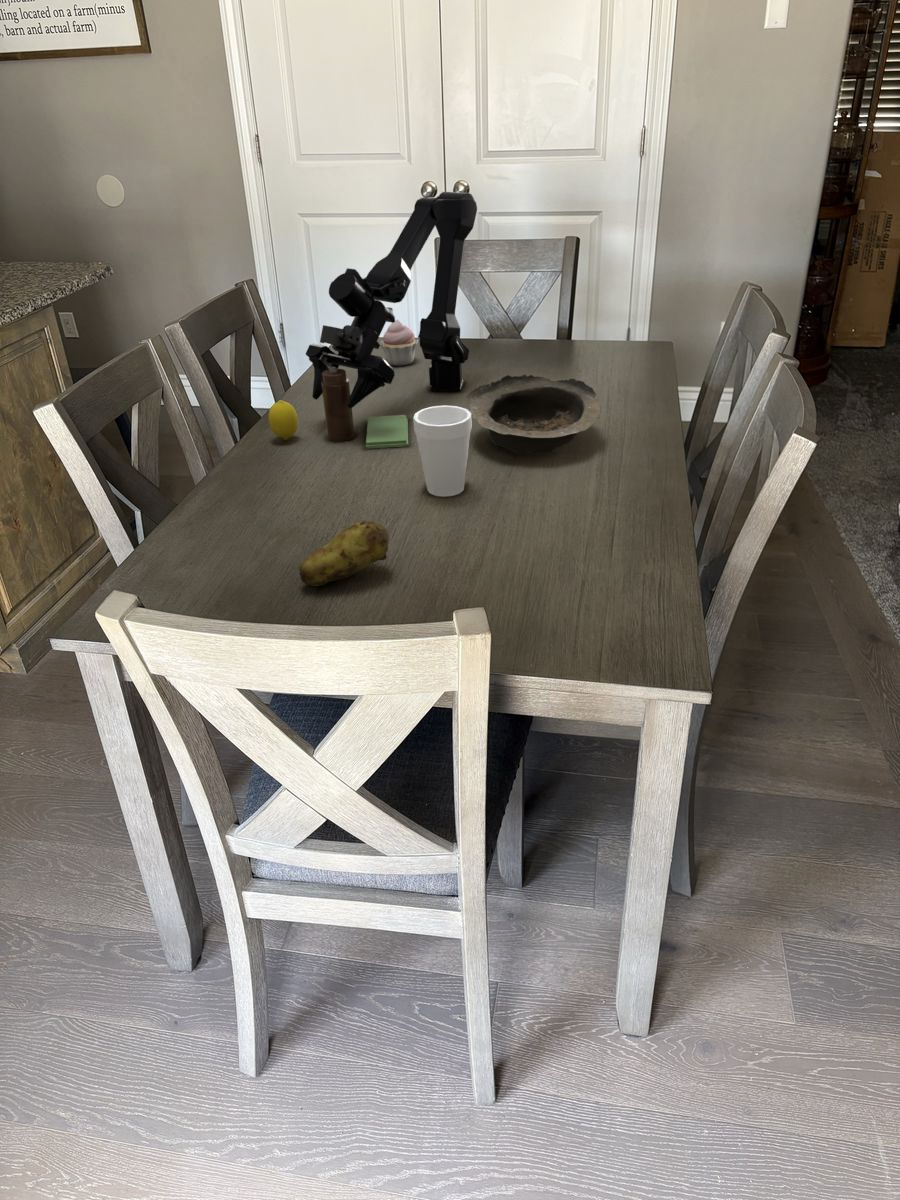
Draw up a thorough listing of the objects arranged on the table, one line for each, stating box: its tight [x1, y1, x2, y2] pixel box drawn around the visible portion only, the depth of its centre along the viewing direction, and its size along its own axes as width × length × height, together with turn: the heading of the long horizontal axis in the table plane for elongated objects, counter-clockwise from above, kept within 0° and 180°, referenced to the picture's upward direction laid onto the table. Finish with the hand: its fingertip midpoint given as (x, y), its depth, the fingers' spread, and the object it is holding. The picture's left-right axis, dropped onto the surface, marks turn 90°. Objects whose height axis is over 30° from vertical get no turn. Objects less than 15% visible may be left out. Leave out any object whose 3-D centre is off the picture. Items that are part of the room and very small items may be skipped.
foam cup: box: [412, 404, 473, 498], centre depth 144 cm, size 10×9×13 cm
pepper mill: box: [321, 367, 356, 442], centre depth 166 cm, size 5×5×14 cm
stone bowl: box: [465, 374, 602, 455], centre depth 162 cm, size 25×25×9 cm
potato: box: [298, 519, 390, 587], centre depth 122 cm, size 8×13×8 cm, turn 95°
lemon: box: [268, 399, 299, 441], centre depth 167 cm, size 6×6×8 cm
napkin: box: [365, 414, 409, 450], centre depth 169 cm, size 8×14×1 cm, turn 3°
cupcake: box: [379, 319, 420, 367], centre depth 206 cm, size 9×9×10 cm
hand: (331, 402), depth 165 cm, fingers open, 9 cm apart
